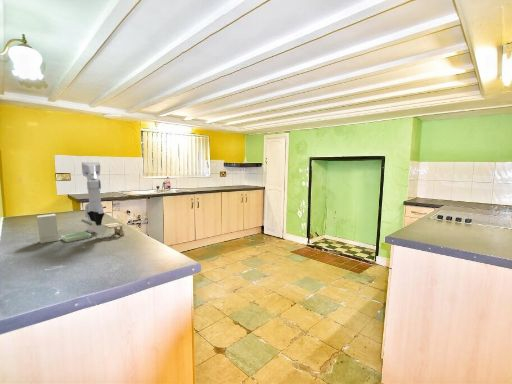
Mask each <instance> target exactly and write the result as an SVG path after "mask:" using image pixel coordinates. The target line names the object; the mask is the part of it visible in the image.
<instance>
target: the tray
mask: <svg viewBox="0 0 512 384" xmlns="http://www.w3.org/2000/svg"><path fill="white" fill-rule="evenodd" d="M90 238H93V237H92V233H90V232H88V231H85V230H84V231H80V232H75V233H67V234H63V235H60V239H61V240H62V241H64V242H66V243H73V242H77V241H81V240H86V239H90Z"/></svg>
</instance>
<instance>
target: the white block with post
mask: <svg viewBox="0 0 512 384" xmlns="http://www.w3.org/2000/svg"><path fill="white" fill-rule="evenodd" d="M80 222H81V223H84V224H86V229H85V230H87V229H88V230H91V231H93V233H96V234H99V235H101V236H104V235H105V233H106V232H107V230H108V229H109V228H108V227H106V226H104V225H105V224H101V225H98V226H97V225H96V222H95V221H91V222H88V221H87V220H86V219H81V220H80ZM87 224H89V225H88V226H87Z"/></svg>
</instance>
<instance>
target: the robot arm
mask: <svg viewBox="0 0 512 384" xmlns="http://www.w3.org/2000/svg"><path fill="white" fill-rule="evenodd" d="M81 171H82V172H81V173H82V176H83V177H86V179H87V181H86V188H87V193H88V203H86V204H85V206H84V214H85V218H86V221H88V222H91V221H95V222H96V225H97V226H98V225H101V224H102V223H103V217H104V216H105V214H106V213H105V212H104V206H103V204H102V203H101V202H102V199H101V196H102V195H101V189H102V185H101V184H102V182H101V180H100V177H99V176H100V174H101V163H100V162H97V161H96V162H95V161H94V162H91V161H90V162H85V161H84V162H83V161H82V162H81ZM88 225H89V224H86V227H87V226H88ZM102 225H103V224H102ZM84 231H85V232H88V233H90V234H93V233H94V232H93V231H91V230H88V229H85V230H84Z"/></svg>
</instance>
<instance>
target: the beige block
mask: <svg viewBox="0 0 512 384" xmlns="http://www.w3.org/2000/svg"><path fill="white" fill-rule="evenodd" d="M103 225H104V226H106V227H108V229H110V230H111V229H114V234H116V235H117V234H118V235H120V236H121V237H122V236H125V229H123V224H121V223H118V222H111V223H107V224H103Z"/></svg>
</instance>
